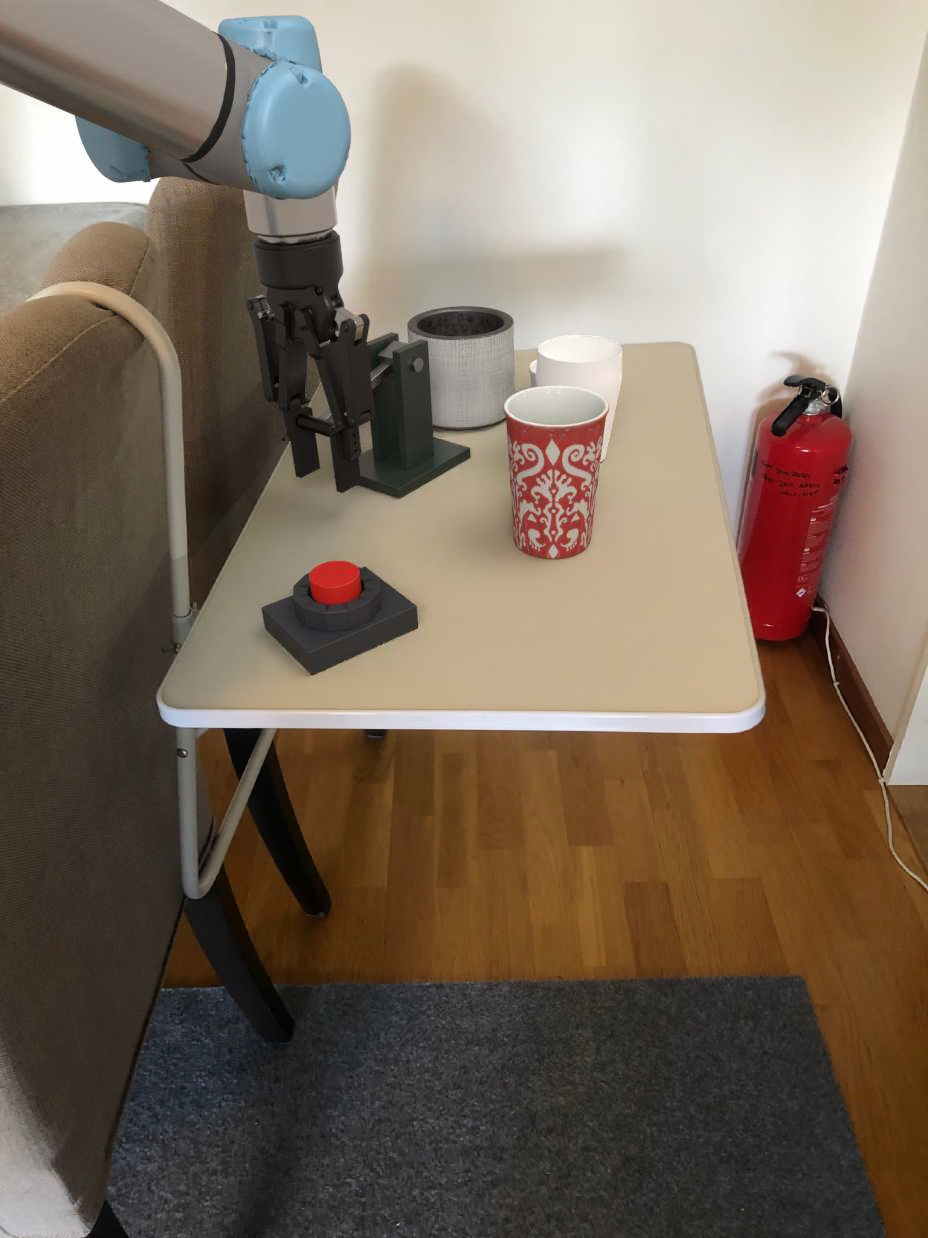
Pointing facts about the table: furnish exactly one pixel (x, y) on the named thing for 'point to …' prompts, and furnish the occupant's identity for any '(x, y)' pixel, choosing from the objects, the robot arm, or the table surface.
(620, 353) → the cup
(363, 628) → the switch block
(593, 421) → the mug
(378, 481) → the lever bracket
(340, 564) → the button
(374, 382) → the switch lever
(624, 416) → the table surface
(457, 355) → the planter
